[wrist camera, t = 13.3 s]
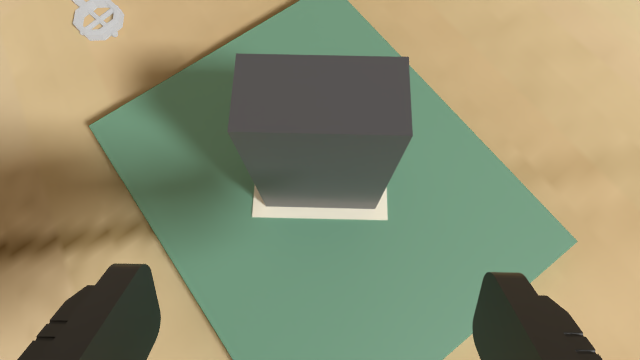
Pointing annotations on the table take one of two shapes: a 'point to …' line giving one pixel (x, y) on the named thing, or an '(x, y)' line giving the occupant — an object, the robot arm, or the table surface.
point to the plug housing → (320, 126)
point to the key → (98, 19)
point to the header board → (325, 214)
